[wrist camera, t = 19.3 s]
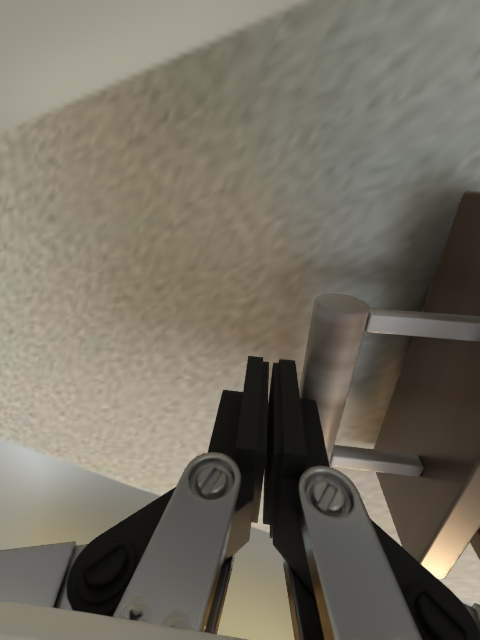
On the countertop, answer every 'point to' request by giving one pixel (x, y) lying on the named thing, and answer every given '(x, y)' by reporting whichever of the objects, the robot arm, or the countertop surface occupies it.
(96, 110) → the countertop surface
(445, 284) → the drawer
